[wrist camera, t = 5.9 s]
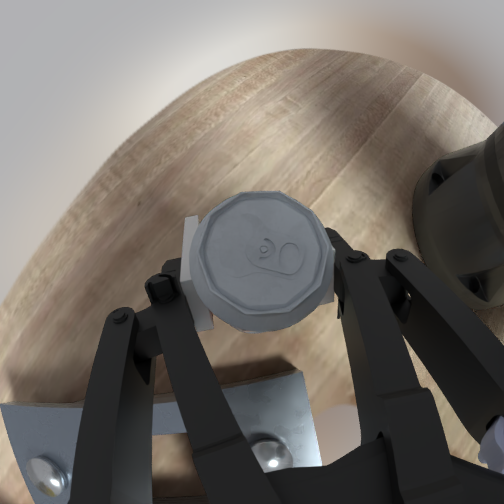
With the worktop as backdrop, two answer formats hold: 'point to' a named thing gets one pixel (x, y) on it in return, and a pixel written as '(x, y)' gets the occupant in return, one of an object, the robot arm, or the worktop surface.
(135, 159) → the worktop surface
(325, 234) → the beer can
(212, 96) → the worktop surface
